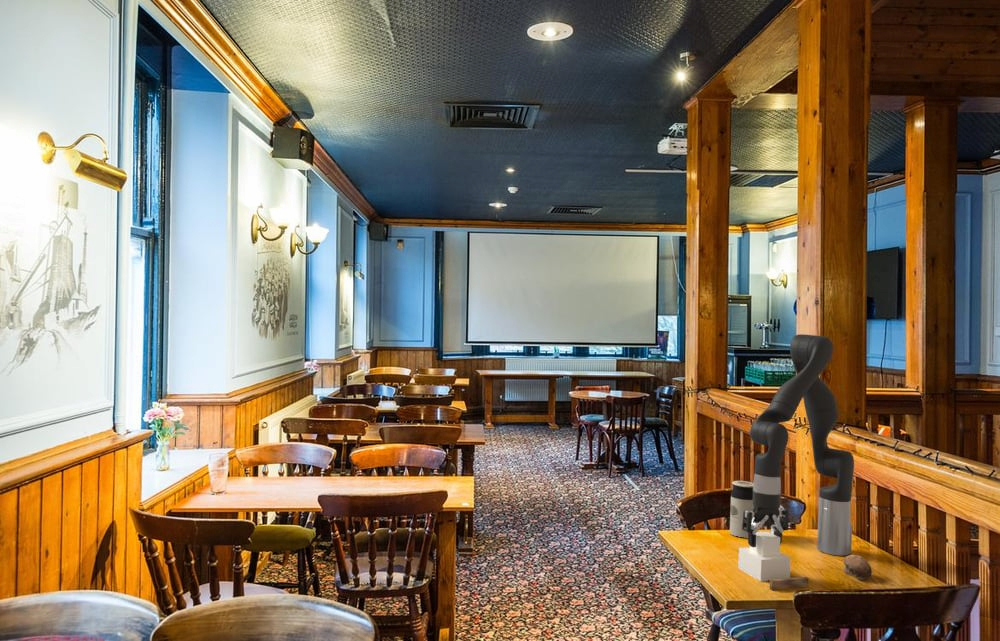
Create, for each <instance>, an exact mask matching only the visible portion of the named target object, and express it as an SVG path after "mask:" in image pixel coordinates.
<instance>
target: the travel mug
mask: <svg viewBox="0 0 1000 641" xmlns="http://www.w3.org/2000/svg"><path fill="white" fill-rule="evenodd" d="M753 509H754V506H753V482H750V481H747V480H746V481H745V480H734V481H732V489H731V491H730V512H729V514H730V515H729V516H730V517H729V534H731V535H732V536H733V535H734V537H736V536H738V537H737V538H740V537H744V538H743V539H748V532H746V531H744V530H742V523H743V512H744V510H747V511H753ZM753 518H754V516H753ZM753 518H752V519H753ZM753 529H754V528H753Z"/></svg>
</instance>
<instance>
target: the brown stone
mask: <svg viewBox="0 0 1000 641" xmlns="http://www.w3.org/2000/svg"><path fill="white" fill-rule="evenodd" d="M843 562H844V568H843V571H844V573H845V574H847V575H850V576H854V577H855V578H856V579H859V580H862V581H864V580H865V581H866V580H868V579H869V578H870V577H871V576H872V574H873V571H872V570H873V569H872V567H871V565H870V563H869V562H868V560H866V559H865V558H864V557H862V556H860V555H858V554H857V555H856V554H850V555H849V554H848V555H845V558H844V561H843Z"/></svg>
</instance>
